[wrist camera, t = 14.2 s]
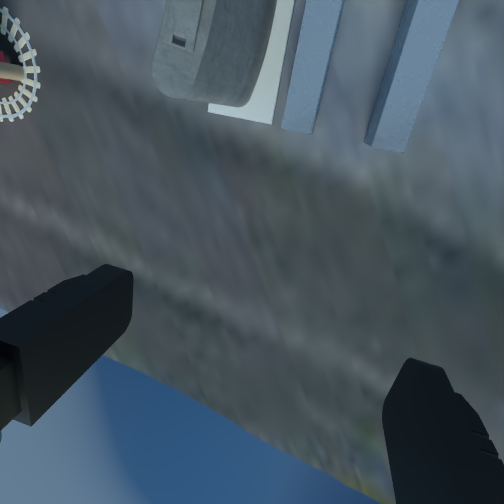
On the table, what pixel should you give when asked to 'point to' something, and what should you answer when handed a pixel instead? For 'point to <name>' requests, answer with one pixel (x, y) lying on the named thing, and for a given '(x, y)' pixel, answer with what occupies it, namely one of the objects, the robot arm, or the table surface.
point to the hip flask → (212, 49)
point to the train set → (17, 69)
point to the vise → (395, 78)
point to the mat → (266, 72)
